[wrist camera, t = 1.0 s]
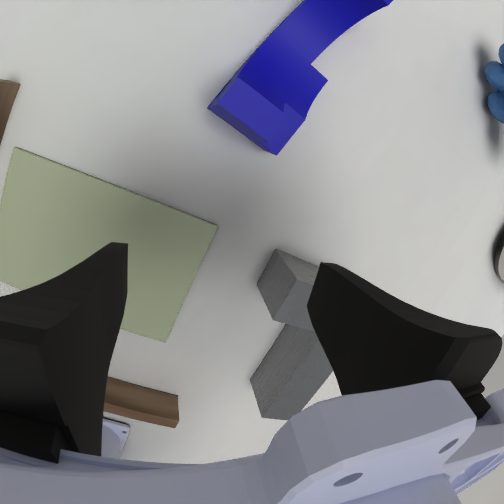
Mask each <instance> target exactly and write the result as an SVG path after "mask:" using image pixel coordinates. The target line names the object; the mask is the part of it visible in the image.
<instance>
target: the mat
mask: <svg viewBox="0 0 504 504" xmlns="http://www.w3.org/2000/svg"><path fill="white" fill-rule="evenodd" d="M217 228H218V226H217V225H215V224H212V223H210V222H207V221H205V220H202V219H200V218H197V217H195V216H192V215H190V214H187V213H185V212H182V211H180V210H177V209H175V208H172V207H170V206H167V205H165V204H162V203H159V202H157V201H154V200H152V199H149V198H147V197H144V196H142V195H139V194H137V193H134V192H132V191H129V190H126V189H124V188H121V187H119V186H116V185H114V184H111V183H108V182H106V181H103V180H101V179H98V178H96V177H93V176H90V175H88V174H85V173H83V172H80V171H78V170H75V169H72V168H70V167H67V166H65V165H62V164H59V163H57V162H54V161H51V160H49V159H46V158H44V157H41V156H38V155H36V154H33V153H30V152H28V151H25V150H23V149H20V148H17V147H14V149H13V152H12V156H11V160H10V164H9V168H8V172H7V176H6V180H5V185H4V189H3V194H2V199H1V205H0V281H2V282H5V283H7V284H9V285H11V286H13V287H15V288H18V289H20V290H25V289H28V288H31V287H33V286H36V285H39V284H41V283H44V282H46V281H48V280H50V279H52V278H54V277H56V276H58V275H60V274H62V273H64V272H66V271H67V270H69V269H71V268H72V267H74V266H75V265H77V264H79V263H80V262H82V261H84V260H85V259H87V258H88V257H90V256H91V255H92V254H94V253H95V252H97V251H98V250H100V249H101V248H103V247H104V246H106V245H107V244H109V243H111V242H118V243H128V293H127V299H126V305H125V311H124V316H123V319H122V323H121V326H120V328H121V329H124V330H127V331H130V332H133V333H136V334H139V335H142V336H145V337H149V338H152V339H155V340H159V341H162V342H165V343H166V340H167V338H168V336H169V333H170V331H171V329H172V327H173V324H174V322H175V320H176V317H177V315H178V313H179V311H180V308H181V306H182V304H183V302H184V299H185V297H186V295H187V293H188V291H189V288H190V286H191V284H192V282H193V280H194V277H195V275H196V273H197V271H198V269H199V266H200V264H201V262H202V260H203V258H204V256H205V254H206V251H207V249H208V247H209V245H210V243H211V241H212V239H213V236H214V234H215V232H216V230H217Z"/></svg>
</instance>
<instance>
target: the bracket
mask: <svg viewBox="0 0 504 504" xmlns="http://www.w3.org/2000/svg"><path fill="white" fill-rule="evenodd" d="M318 269H319V267H318V266H316V265H313V264H311V263H308V262H306V261H304V260H301V259H299V258H296V257H294V256H291V255H289V254H286V253H284V252H282V251H279V250H277V249H276V250H275V252H274V254H273V255H272V257H271V259H270V261H269V263H268V265H267V267H266V268H265V270H264V272H263V274H262V276H261V278H260V279H259V281H258V283H257V286H258V289H259V291H260V293H261V295H262V297H263V299H264V302H265V304H266V306H267V308H268V310H269V312H270V314H271V317H272V319H273V320H275V321H278V322H282V323H285V324H286V325H285V327H284V328H283V330H282V331H281V333H280V335H279V336H278V338H277V339H276V341H275V342H274V344H273V346H272V347H271V349H270V350H269V352H268V353H267V355H266V356H265V358H264V360H263V361H262V363H261V364H260V366H259V367H258V369H257V370H256V372H255V373H254V375H253V376H252V378H251V379H250V381H251V384H252V388H253V391H254V394H255V397H256V401H257V404H258V407H259V410H260V413H261V417H262V418H270V419H280V420H289V419H290V418H291V417H292V416H293V415H295V414H296V413H298V412H300V411H301V410H302V409H303V408H304V406H305V405H306V404H307V403H308V402H309V400H310V399H311V398H312V397H313V395H314V394H315V393H316V392H317V390H318V389H319V388H320V387H321V385H322V384H323V383H324V382H325V380H326V379H327V378H328V377H329V375H330V374H331V373H332V371H333V369H332V366H331V364H330V362H329V360H328V358H327V356H326V354H325V352H324V350H323V348H322V346H321V344H320V341H319V339H318V337H317V335H316V333H315V331H314V328H313V326H312V323H311V320H310V317H309V313H308V309H307V303H308V300H309V297H310V294H311V291H312V288H313V285H314V282H315V279H316V276H317V273H318Z"/></svg>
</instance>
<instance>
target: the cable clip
mask: <svg viewBox="0 0 504 504" xmlns="http://www.w3.org/2000/svg"><path fill="white" fill-rule="evenodd" d="M392 1H393V0H304V1H303V2H302V3H301V4H300V5H299V6H298V7H297V8H296V9H295V10H294V11H293V12H292V13H291V14H290V15H289V16H288V17H287V18H286V19H285V20H284V21H283V22H282V23H281V24H280V25H279V26H278V27H277V28H276V29H275V30H274V31H273V32H272V33H271V34H270V35H269V36H268V37H267V38H266V40H265V41H264V42H263V43H262V44H261V45H260V46H259V47H258V48H257V49H256V50H255V52H254V53H253V54H252V55H251V56H250V57H249V58H248V59H247V61H246V62H245V63H244V64H243V65H242V66H241V68H240V69H239V70H238V71H237V72H236V73H235V75H234V76H233V77H232V78H231V79H230V80H229V82H228V83H227V84H226V85H225V86H224V88H223V89H222V90H221V91H220V93H219V94H218V95H217V96H216V98H215V99H214V100H213V101H212V103H211V104H210V105H209V106H208V109H209V110H211V111H212V112H213V113H215V114H216V115H218V116H219V117H220V118H222V119H223V120H224V121H226V122H227V123H229V124H230V125H231V126H233V127H234V128H235V129H237V130H238V131H239V132H241V133H242V134H243V135H245V136H246V137H247V138H249V139H250V140H251V141H253V142H254V143H255V144H256V145H258V146H259V147H260V148H262V149H263V150H264V151H267V152H269V153H272V154H274V155H277V154H278V153H279V152H280V151H281V149H282V148H283V147H284V146H285V144H286V143H287V142H288V141H289V139H290V138H291V137H292V136H293V134H294V133H295V132H296V130H297V129H298V128H299V127H300V126H301V124H302V123H303V122H304V121H305V119H306V116H307V113H308V110H309V108H310V106H311V104H312V103H313V101H314V99H315V98H316V96H317V94H318V93H319V92H320V90H321V89H322V87H323V86H324V85H325V84H326V82H327V81H328V80H327V79H326V78H325V77H324V76H323V75H322V74H321V73H319V72H318V71H317V70H316V69H315V68H314V67H313V66H312V65H310V64H311V63H312V62H313V61H314V60H315V59H316V58H317V57H318V56H319V55H320V54H321V53H322V52H323V51H324V50H325V49H326V48H327V47H328V46H329V45H330V44H331V43H332V42H333V41H334V40H335V39H337V38H338V37H339V36H340V35H341V34H343V33H344V32H345V31H346V30H348V29H349V28H350V27H352V26H353V25H354V24H356V23H357V22H359V21H360V20H362V19H363V18H365V17H366V16H368V15H370V14H371V13H373V12H375V11H377V10H379V9H381V8H383V7H385V6H388V5H389V4H390V3H391V2H392Z"/></svg>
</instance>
